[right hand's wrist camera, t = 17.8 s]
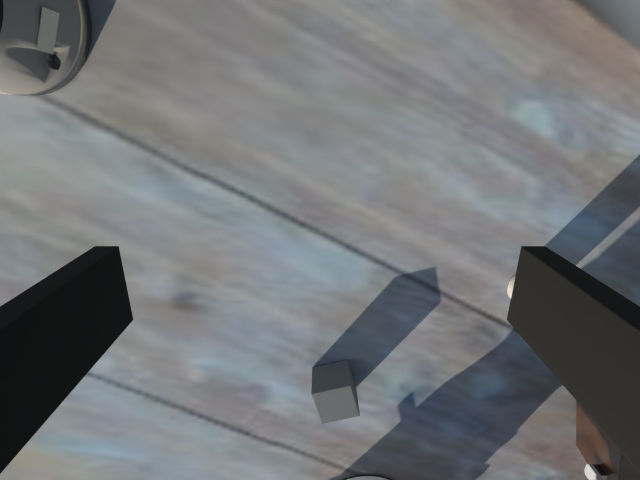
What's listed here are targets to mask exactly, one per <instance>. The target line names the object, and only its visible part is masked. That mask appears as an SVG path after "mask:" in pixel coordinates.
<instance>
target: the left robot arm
mask: <svg viewBox="0 0 640 480" xmlns="http://www.w3.org/2000/svg"><path fill="white" fill-rule="evenodd" d="M584 471H585V475H586V476H587V478H588V479H589V480H607V478H608V475H607V474H606V472H605V471H604V470H603V469H602V467H601V465H600V464H586V467H585V470H584ZM347 480H388V479H385V478H381V477H375V476H360V477H354V478H350V479H347Z"/></svg>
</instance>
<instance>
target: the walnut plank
mask: <svg viewBox="0 0 640 480" xmlns="http://www.w3.org/2000/svg"><path fill="white" fill-rule="evenodd" d="M576 445H577V447H578V449H579V450H580V452H581V454H582V455H583V457H584V458H585V460H586V462H587V463H588V464H600V465H601V467H602V469H603V470H604V471H605V472H606V474H607V475H608V478H607V480H640V473H639V472H638V471H637V470H636V469H635V468H634V466H633V465H632V464H631V463H630V462H629V461H628V459H627V458H626V457H625V456H624V455H623V454H622V452H621V451H620V450H619V449H618V448H617V447H616V446H615V444H614V443H613V442H612V441H611V440H610V439H609V437H608V436H607V435H606V434H605V433H604V432H603V430H602V429H601V428H600V427H599V426H598V425H597V423H596V422H595V421H594V420H593V419H592V418H591V417H590V415H589V414H588V413H587V412H586V411H585V410H584V408H583V407H582V406H581V405H580V404H579V403H578V401H577V418H576Z"/></svg>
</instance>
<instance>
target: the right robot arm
mask: <svg viewBox="0 0 640 480" xmlns="http://www.w3.org/2000/svg"><path fill="white" fill-rule="evenodd" d="M90 39H91V20H90V13H89V8H88V4H87V0H0V92H1V93H4V94H10V95H29V96H33V95H43V94H48V93H51V92H54V91H56V90H58V89H60V88H62V87H64V86H65V85H66V84H68V83H69V82H70V81H71V80H72V79H73V78H74V77H75V76H76V75H77V74H78V72H79V71H80V69H81V68H82V66H83V64H84V62H85V60H86V57H87V54H88V50H89V46H90ZM132 320H133V317H132V312H131V307H130V302H129V297H128V292H127V287H126V282H125V277H124V272H123V266H122V261H121V256H120V251H119V246H95V247H93V248H92V249H90V250H89V251H87V252H85V253H84V254H82V255H81V256H79V257H78V258H76V259H74V260H73V261H71V262H70V263H68V264H67V265H65V266H63V267H62V268H60V269H59V270H57V271H56V272H54V273H52V274H51V275H49V276H48V277H46V278H45V279H43V280H41V281H40V282H38V283H37V284H35V285H34V286H32V287H30V288H29V289H27V290H26V291H24V292H23V293H21V294H19V295H18V296H16V297H15V298H13V299H12V300H10V301H8V302H7V303H5V304H4V305H2V306H1V307H0V473H1V472H2V471H3V470H4V469H5V468H6V466H7V465H8V464H9V463H10V462H11V461H12V459H13V458H14V457H15V456H16V455H17V454H18V452H19V451H20V450H21V449H22V448H23V447H24V445H25V444H26V443H27V442H28V441H29V440H30V439H31V437H32V436H33V435H34V434H35V433H36V432H37V430H38V429H39V428H40V427H41V426H42V425H43V423H44V422H45V421H46V420H47V419H48V418H49V417H50V415H51V414H52V413H53V412H54V411H55V410H56V408H57V407H58V406H59V405H60V404H61V403H62V401H63V400H64V399H65V398H66V397H67V396H68V395H69V393H70V392H71V391H72V390H73V389H74V388H75V386H76V385H77V384H78V383H79V382H80V381H81V379H82V378H83V377H84V376H85V375H86V374H87V373H88V371H89V370H90V369H91V368H92V367H93V366H94V364H95V363H96V362H97V361H98V360H99V359H100V357H101V356H102V355H103V354H104V353H105V352H106V350H107V349H108V348H109V347H110V346H111V345H112V344H113V342H114V341H115V340H116V339H117V338H118V337H119V335H120V334H121V333H122V332H123V331H124V330H125V328H126V327H127V326H128V325H129V324H130V323H131V322H132ZM507 320H508V322H509V323H510V324H511V325H512V326H513V327H514V328H515V330H516V331H517V332H518V333H519V334H520V335H521V337H522V338H523V339H524V340H525V341H526V342H527V344H528V345H529V346H530V347H531V348H532V349H533V350H534V352H535V353H536V354H537V355H538V356H539V357H540V359H541V360H542V361H543V362H544V363H545V364H546V366H547V367H548V368H549V369H550V370H551V371H552V373H553V374H554V375H555V376H556V377H557V378H558V379H559V381H560V382H561V383H562V384H563V385H564V386H565V388H566V389H567V390H568V391H569V392H570V393H571V395H572V396H573V397H574V398H575V399H576V400H577V401H578V403H579V404H580V405H581V406H582V407H583V408H584V410H585V411H586V412H587V413H588V414H589V415H590V417H591V418H592V419H593V420H594V421H595V422H596V423H597V425H598V426H599V427H600V428H601V429H602V430H603V432H604V433H605V434H606V435H607V436H608V437H609V439H610V440H611V441H612V442H613V443H614V444H615V446H616V447H617V448H618V449H619V450H620V451H621V452H622V454H623V455H624V456H625V457H626V458H627V459H628V461H629V462H630V463H631V464H632V465H633V466H634V468H635V469H636V470H637V471H638V472H639V473H640V307H639V306H638V305H636V304H635V303H633V302H632V301H630V300H628V299H627V298H625V297H624V296H622V295H621V294H619V293H617V292H616V291H614V290H613V289H611V288H610V287H608V286H606V285H605V284H603V283H602V282H600V281H599V280H597V279H595V278H594V277H592V276H591V275H589V274H588V273H586V272H584V271H583V270H581V269H580V268H578V267H577V266H575V265H573V264H572V263H570V262H569V261H567V260H566V259H564V258H562V257H561V256H559V255H558V254H556V253H555V252H553V251H551V250H550V249H548V248H547V247H545V246H521V251H520V256H519V261H518V266H517V272H516V277H515V282H514V287H513V292H512V297H511V302H510V307H509V312H508V317H507Z"/></svg>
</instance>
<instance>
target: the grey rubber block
mask: <svg viewBox="0 0 640 480" xmlns="http://www.w3.org/2000/svg"><path fill="white" fill-rule="evenodd" d="M312 397H313V400H314V402H315V405H316V408H317V411H318V414H319V417H320V420H321V423H322V424H323V423H328V422H332V421H337V420H342V419H347V418H352V417H357V416H360V415H359V407H358V399H357V391H356V386H355V382H354V379H353V376H352V372H351V369H350V365H349V362H348V360H344V361H339V362H335V363H330V364H326V365H321V366H316V367H312Z"/></svg>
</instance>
